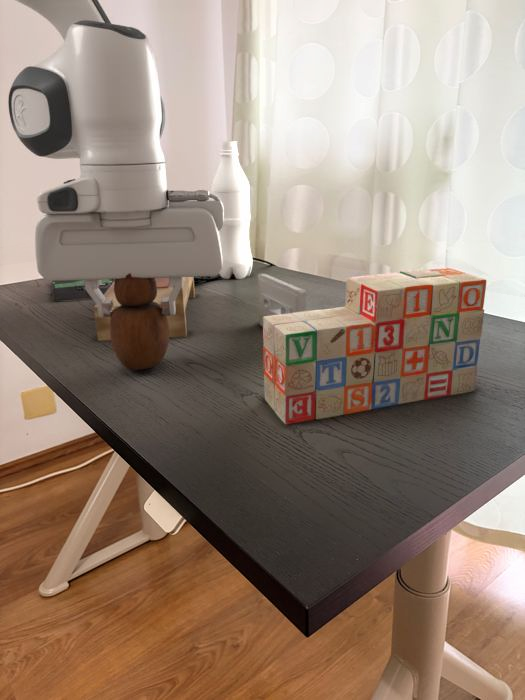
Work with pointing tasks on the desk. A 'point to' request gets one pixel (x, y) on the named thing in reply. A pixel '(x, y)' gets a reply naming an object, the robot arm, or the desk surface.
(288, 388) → the stack of blocks
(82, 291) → the disk drive
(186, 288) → the wooden bookend
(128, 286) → the wooden figurine
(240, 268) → the water bottle
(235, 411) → the desk surface
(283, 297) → the cassette
